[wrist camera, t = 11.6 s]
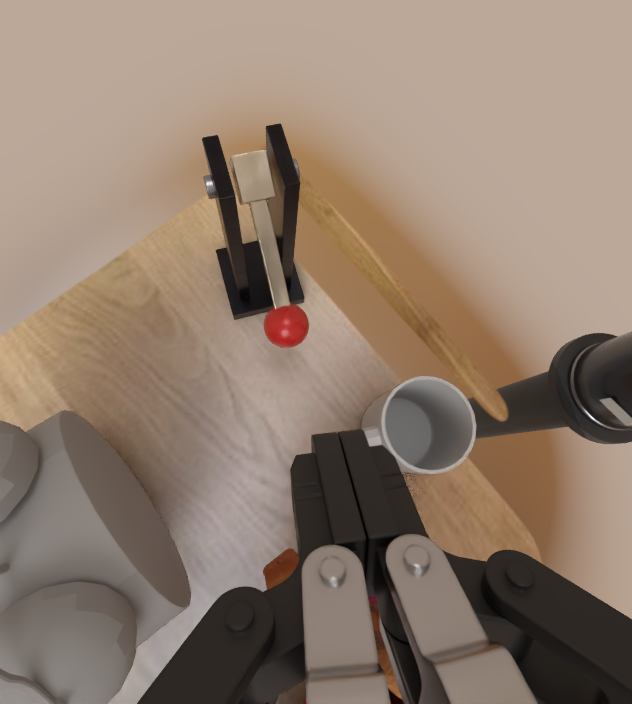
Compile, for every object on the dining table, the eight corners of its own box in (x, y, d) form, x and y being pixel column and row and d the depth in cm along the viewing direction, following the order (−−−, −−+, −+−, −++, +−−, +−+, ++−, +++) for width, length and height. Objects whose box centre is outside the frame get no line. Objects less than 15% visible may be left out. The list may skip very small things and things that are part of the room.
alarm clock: (26, 471, 38) (-293, 479, 16) (118, 412, 40) (-62, 352, 18) (126, 645, 35) (-98, 918, 14) (220, 574, 37) (146, 720, 16)
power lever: (308, 336, 34) (317, 346, 31) (267, 346, 33) (272, 358, 30) (268, 154, 30) (274, 146, 27) (221, 163, 29) (222, 156, 26)
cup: (444, 461, 41) (488, 461, 33) (340, 487, 40) (358, 494, 31) (422, 386, 43) (459, 367, 34) (322, 409, 41) (334, 394, 33)
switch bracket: (303, 302, 44) (322, 198, 27) (234, 319, 43) (206, 222, 26) (284, 240, 45) (290, 103, 28) (217, 255, 44) (180, 122, 27)
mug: (416, 654, 37) (506, 776, 23) (337, 725, 35) (381, 906, 21) (315, 505, 39) (338, 528, 25) (236, 564, 38) (212, 626, 23)
